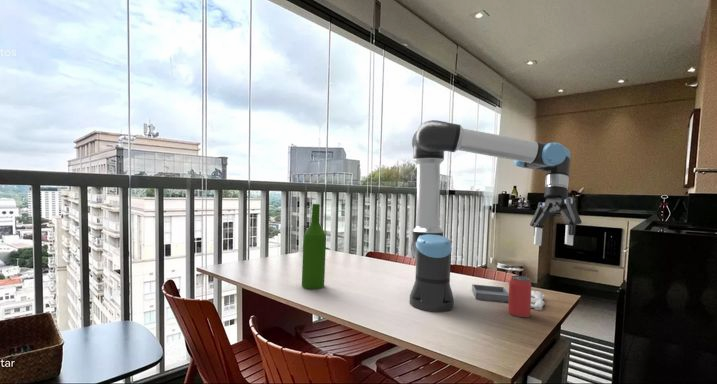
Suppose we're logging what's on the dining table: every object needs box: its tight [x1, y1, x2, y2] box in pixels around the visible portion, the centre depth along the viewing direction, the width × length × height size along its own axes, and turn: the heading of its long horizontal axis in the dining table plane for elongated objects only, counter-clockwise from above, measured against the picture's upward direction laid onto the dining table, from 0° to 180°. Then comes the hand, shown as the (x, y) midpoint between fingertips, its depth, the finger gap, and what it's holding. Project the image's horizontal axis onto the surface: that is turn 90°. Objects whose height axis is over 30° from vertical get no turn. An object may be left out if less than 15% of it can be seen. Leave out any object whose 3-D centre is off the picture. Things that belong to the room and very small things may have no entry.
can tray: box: [471, 283, 509, 304], centre depth 130 cm, size 12×12×2 cm
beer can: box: [507, 275, 532, 318], centre depth 111 cm, size 7×7×12 cm
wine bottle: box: [301, 203, 327, 290], centre depth 135 cm, size 9×9×32 cm
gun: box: [531, 289, 546, 311], centre depth 124 cm, size 18×4×10 cm
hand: (552, 244), depth 122 cm, fingers open, 13 cm apart
